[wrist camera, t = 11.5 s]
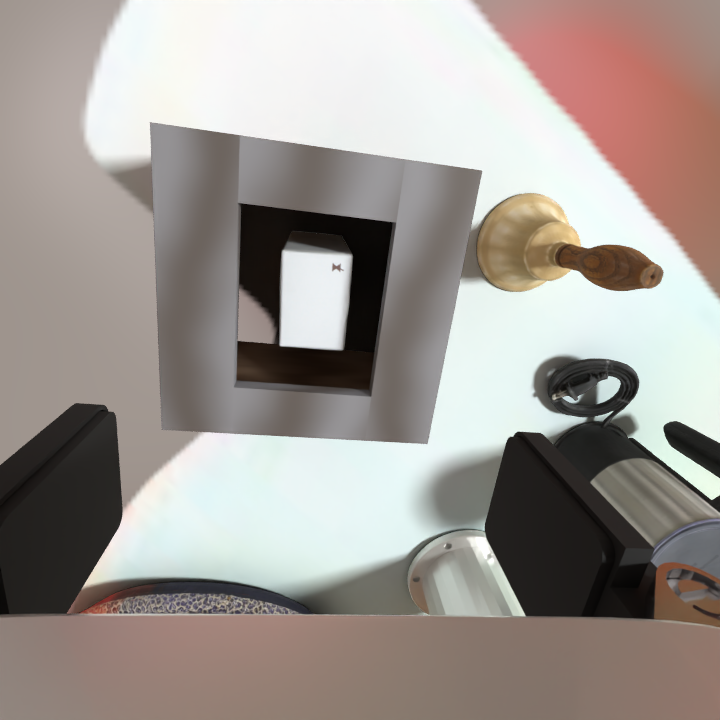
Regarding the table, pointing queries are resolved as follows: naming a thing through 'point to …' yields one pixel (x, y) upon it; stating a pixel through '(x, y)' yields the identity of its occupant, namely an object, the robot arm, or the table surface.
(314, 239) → the skincare box
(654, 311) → the table surface
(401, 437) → the slot box
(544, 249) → the hand bell
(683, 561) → the milk frother
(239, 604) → the dish
